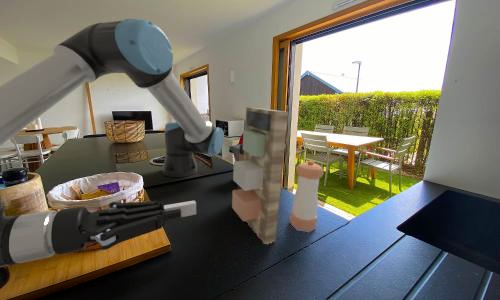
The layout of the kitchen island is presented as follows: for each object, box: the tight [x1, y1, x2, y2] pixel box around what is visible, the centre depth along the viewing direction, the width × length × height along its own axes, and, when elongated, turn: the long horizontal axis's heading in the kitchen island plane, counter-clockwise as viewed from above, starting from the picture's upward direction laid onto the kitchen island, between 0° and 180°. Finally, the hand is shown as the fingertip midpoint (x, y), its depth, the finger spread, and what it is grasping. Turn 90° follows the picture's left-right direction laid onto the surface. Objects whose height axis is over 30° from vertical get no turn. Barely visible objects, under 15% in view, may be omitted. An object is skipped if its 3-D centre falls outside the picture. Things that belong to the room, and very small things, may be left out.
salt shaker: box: [289, 160, 324, 231], centre depth 56 cm, size 7×7×19 cm
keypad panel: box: [244, 107, 289, 245], centre depth 52 cm, size 14×4×32 cm, turn 27°
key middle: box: [232, 160, 264, 191], centre depth 51 cm, size 7×5×5 cm
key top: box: [242, 129, 266, 157], centre depth 50 cm, size 7×5×5 cm
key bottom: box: [231, 189, 261, 222], centre depth 53 cm, size 7×5×5 cm
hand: (195, 207), depth 46 cm, fingers closed
